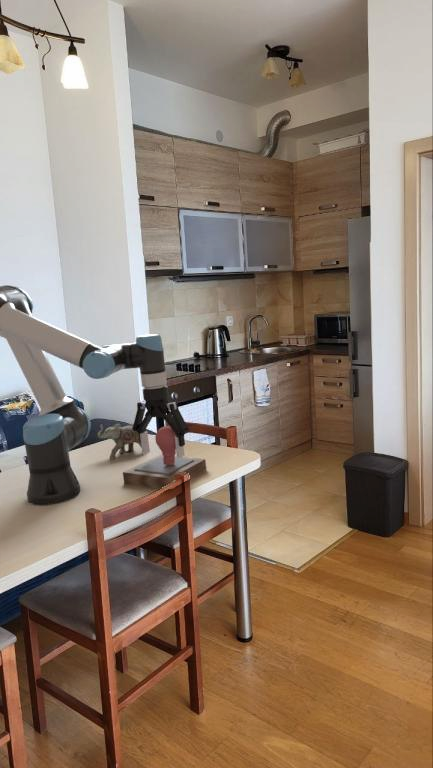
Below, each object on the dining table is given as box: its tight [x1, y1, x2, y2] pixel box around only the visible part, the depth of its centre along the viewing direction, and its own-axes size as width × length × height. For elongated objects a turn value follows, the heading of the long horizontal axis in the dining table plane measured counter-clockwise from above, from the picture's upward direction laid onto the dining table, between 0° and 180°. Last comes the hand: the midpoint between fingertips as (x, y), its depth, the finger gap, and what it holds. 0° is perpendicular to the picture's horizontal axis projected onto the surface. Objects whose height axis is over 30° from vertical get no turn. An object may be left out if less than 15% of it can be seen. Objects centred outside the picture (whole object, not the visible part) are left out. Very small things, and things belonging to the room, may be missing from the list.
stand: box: [122, 454, 207, 490], centre depth 176 cm, size 18×18×4 cm
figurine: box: [97, 423, 142, 460], centre depth 205 cm, size 10×14×15 cm, turn 87°
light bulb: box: [154, 425, 177, 465], centre depth 173 cm, size 7×7×12 cm
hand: (163, 454), depth 175 cm, fingers open, 13 cm apart
